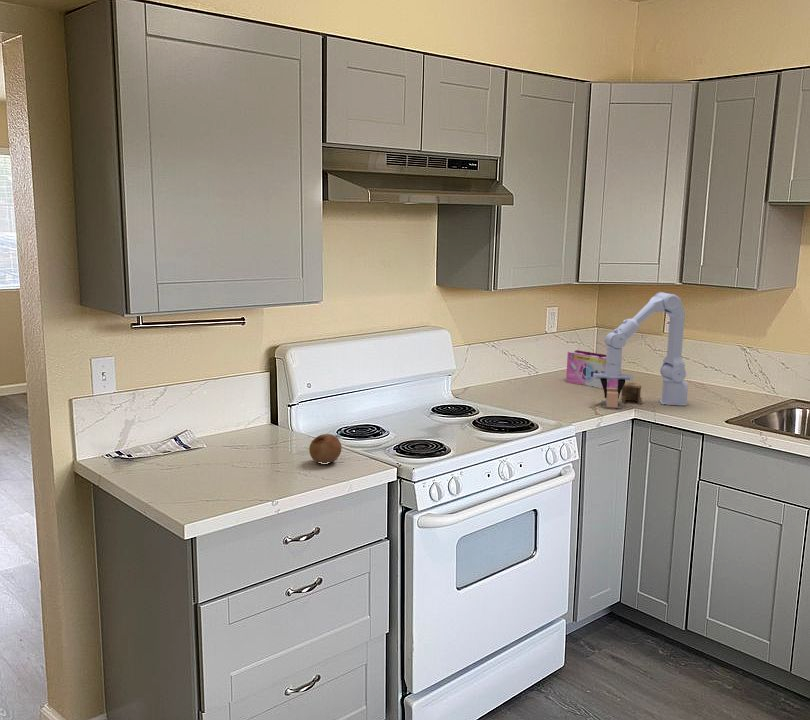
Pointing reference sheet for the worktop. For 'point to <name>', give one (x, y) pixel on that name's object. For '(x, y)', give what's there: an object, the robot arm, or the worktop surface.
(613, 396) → the block
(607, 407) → the pad
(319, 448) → the onion
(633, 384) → the cubby
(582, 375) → the gum box
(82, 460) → the worktop surface
